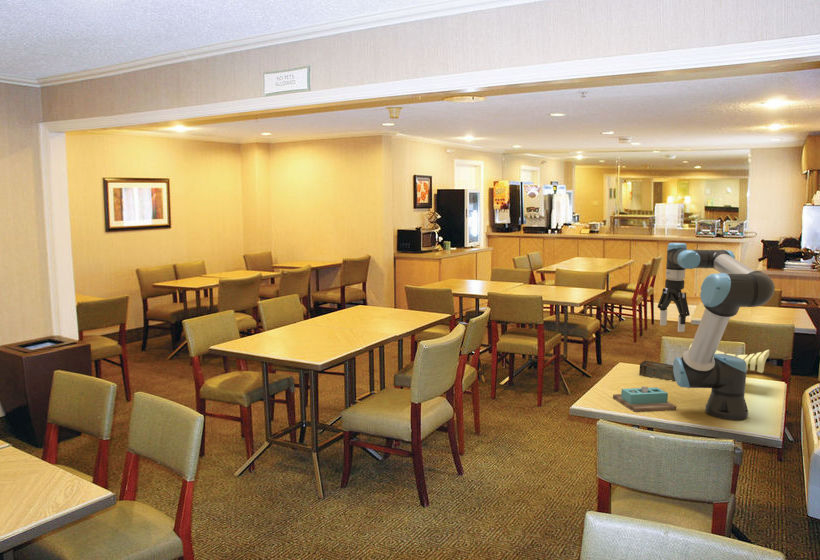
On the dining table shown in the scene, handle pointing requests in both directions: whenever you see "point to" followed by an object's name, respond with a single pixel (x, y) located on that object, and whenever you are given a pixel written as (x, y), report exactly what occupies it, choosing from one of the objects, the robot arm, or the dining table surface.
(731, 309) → the robot arm
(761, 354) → the slatted curved stool
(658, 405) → the post base
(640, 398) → the teal block with holes
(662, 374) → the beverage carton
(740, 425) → the dining table surface
